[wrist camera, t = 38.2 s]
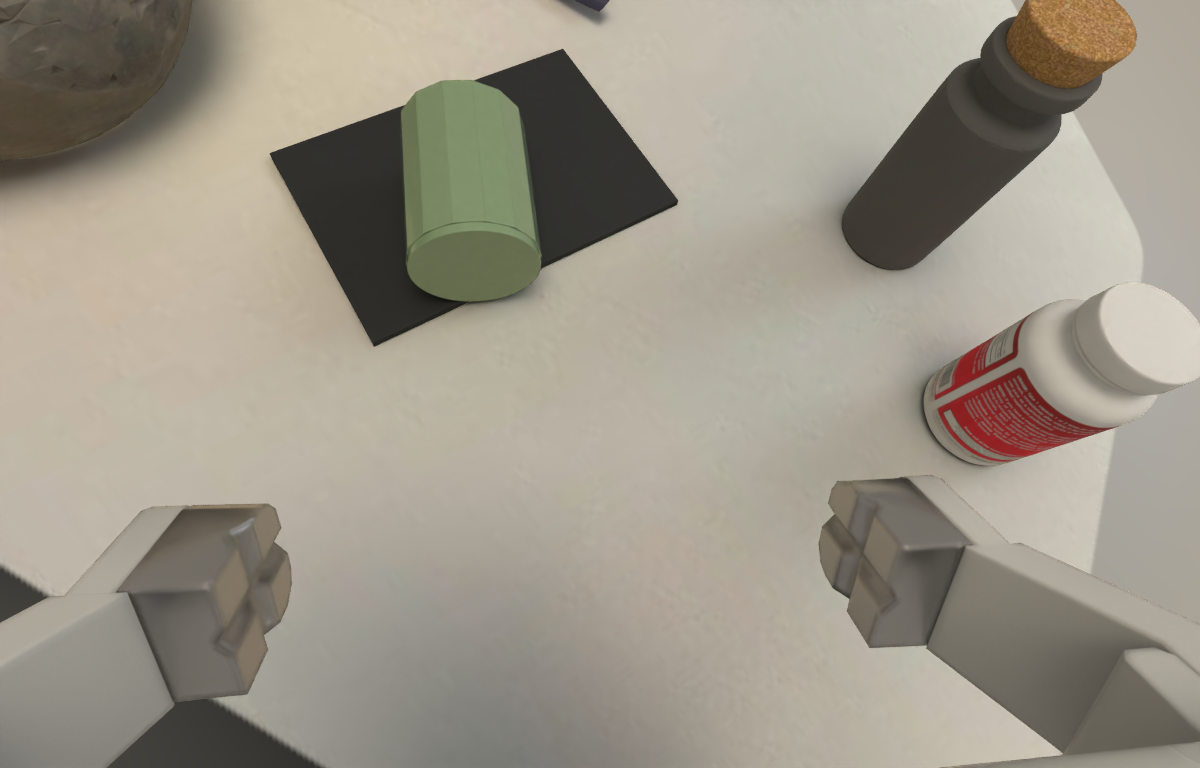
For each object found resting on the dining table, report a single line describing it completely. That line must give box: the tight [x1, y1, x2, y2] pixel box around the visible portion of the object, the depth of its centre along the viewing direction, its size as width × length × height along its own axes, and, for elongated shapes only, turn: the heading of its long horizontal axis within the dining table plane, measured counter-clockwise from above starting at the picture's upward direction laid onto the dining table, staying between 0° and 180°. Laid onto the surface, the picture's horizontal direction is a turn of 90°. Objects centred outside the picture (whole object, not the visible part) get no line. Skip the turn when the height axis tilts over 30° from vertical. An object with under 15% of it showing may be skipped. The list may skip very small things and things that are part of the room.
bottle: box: [842, 0, 1137, 270], centre depth 32 cm, size 6×6×15 cm
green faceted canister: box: [400, 80, 542, 301], centre depth 32 cm, size 7×7×9 cm
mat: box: [270, 49, 678, 346], centre depth 36 cm, size 20×14×1 cm
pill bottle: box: [924, 282, 1200, 466], centre depth 30 cm, size 6×6×11 cm
